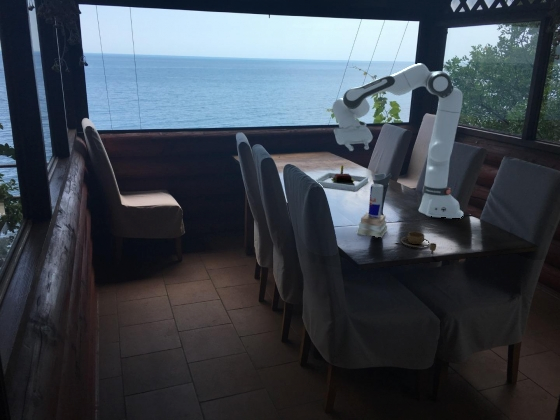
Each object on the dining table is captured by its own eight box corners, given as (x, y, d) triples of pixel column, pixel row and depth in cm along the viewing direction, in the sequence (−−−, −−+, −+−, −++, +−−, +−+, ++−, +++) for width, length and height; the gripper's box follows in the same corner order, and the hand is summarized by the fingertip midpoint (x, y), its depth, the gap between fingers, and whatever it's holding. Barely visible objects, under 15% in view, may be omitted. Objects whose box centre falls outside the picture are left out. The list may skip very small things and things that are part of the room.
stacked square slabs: (386, 230, 228) (388, 215, 225) (381, 237, 218) (382, 222, 216) (363, 226, 232) (364, 211, 230) (357, 233, 222) (358, 218, 220)
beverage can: (373, 214, 227) (375, 182, 222) (383, 217, 223) (386, 185, 218) (365, 216, 223) (368, 184, 218) (375, 219, 219) (378, 187, 215)
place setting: (436, 242, 216) (437, 230, 214) (436, 259, 197) (438, 245, 195) (395, 237, 220) (397, 225, 219) (392, 253, 202) (393, 240, 200)
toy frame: (368, 181, 319) (368, 177, 319) (355, 191, 296) (356, 186, 295) (328, 176, 331) (328, 172, 330) (313, 185, 307) (313, 180, 306)
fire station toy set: (351, 181, 320) (352, 165, 317) (358, 189, 301) (359, 172, 297) (329, 181, 319) (330, 165, 315) (335, 189, 300) (336, 171, 296)
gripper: (335, 124, 241) (345, 147, 235) (368, 122, 250) (378, 144, 245) (329, 131, 246) (339, 154, 240) (362, 130, 255) (372, 151, 250)
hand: (359, 149), depth 243 cm, fingers open, 8 cm apart
